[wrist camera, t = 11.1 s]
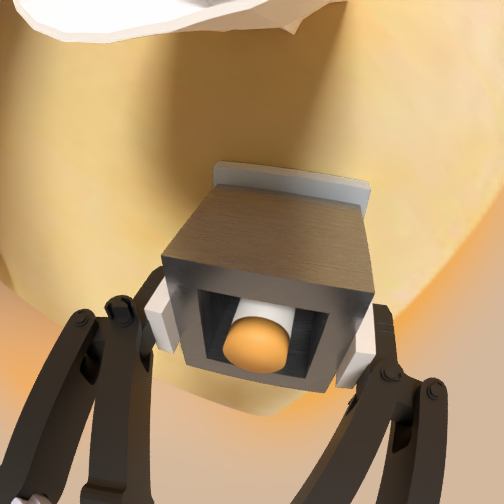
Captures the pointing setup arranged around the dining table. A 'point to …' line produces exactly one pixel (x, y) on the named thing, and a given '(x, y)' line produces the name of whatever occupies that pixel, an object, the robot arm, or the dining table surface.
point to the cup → (159, 17)
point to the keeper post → (262, 313)
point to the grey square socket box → (271, 278)
